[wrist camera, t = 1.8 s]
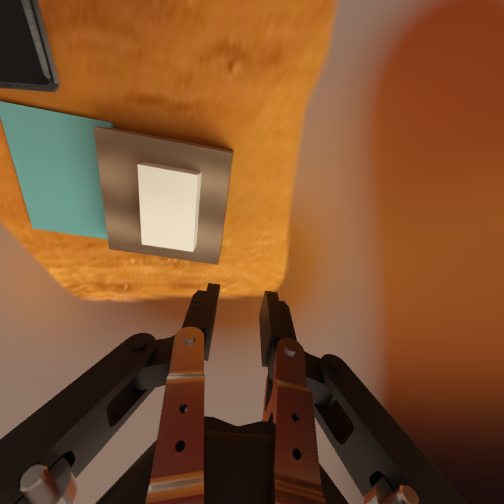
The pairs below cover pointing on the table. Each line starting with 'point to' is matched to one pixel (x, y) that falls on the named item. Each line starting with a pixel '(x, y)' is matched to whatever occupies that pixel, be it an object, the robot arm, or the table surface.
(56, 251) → the table surface
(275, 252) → the table surface
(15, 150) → the mat
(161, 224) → the white rectangular block
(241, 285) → the table surface
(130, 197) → the block
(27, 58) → the phone
